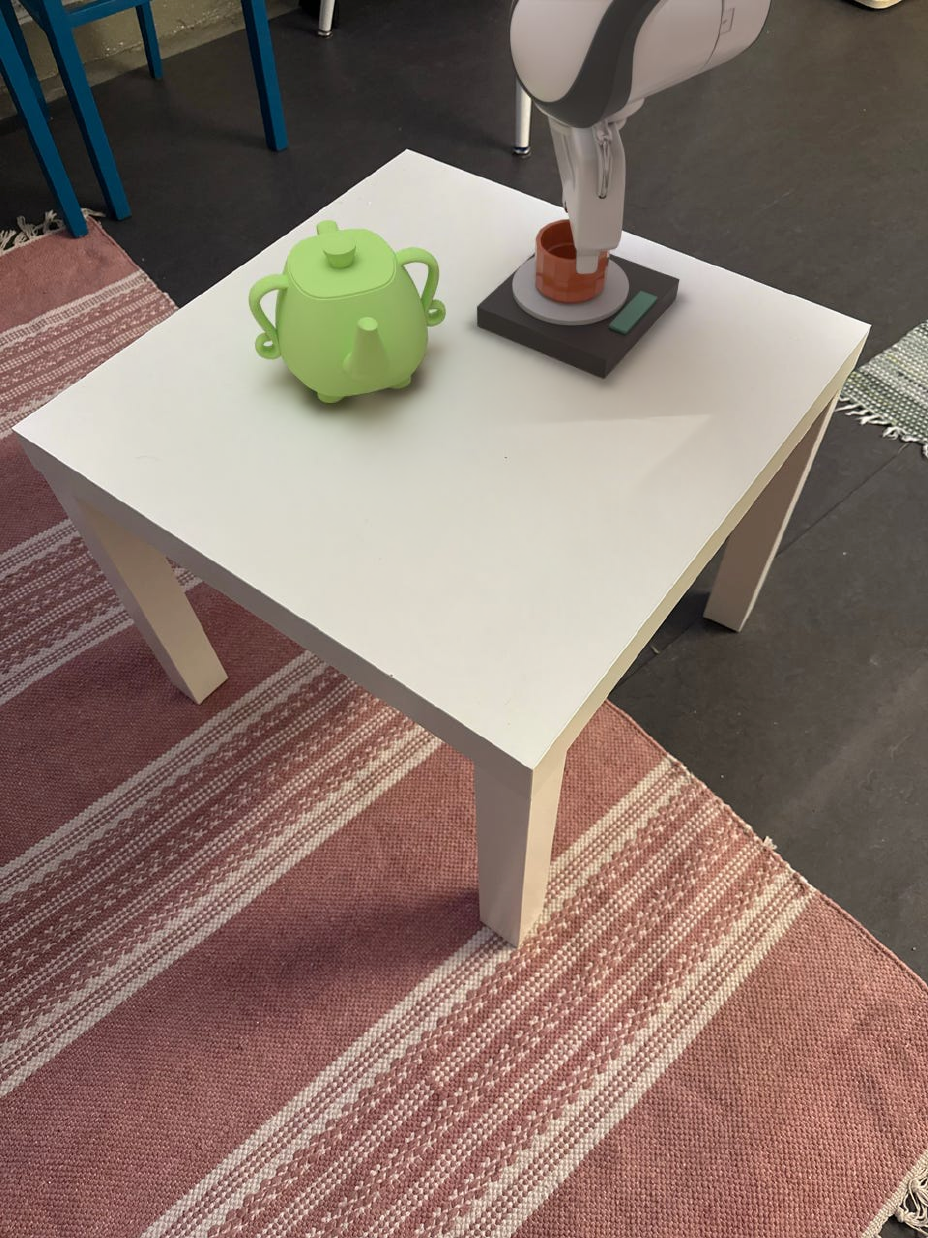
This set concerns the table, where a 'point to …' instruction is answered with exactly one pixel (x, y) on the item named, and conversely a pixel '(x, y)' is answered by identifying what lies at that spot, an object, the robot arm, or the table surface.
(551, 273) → the orange cup
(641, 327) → the scale
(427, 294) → the teapot
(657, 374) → the table surface
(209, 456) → the table surface
